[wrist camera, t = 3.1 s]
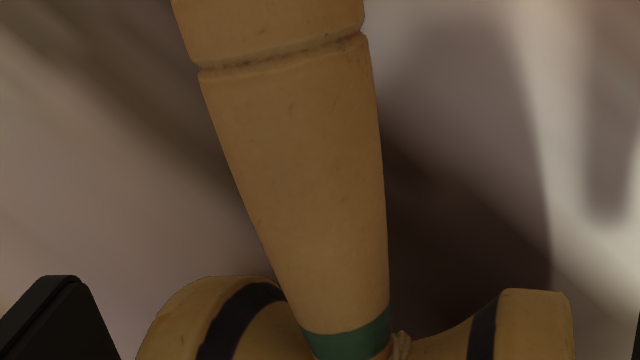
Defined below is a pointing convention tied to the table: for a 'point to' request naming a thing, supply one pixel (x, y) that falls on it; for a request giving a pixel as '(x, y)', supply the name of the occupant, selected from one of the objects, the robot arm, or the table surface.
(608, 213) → the table surface
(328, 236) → the kendama
